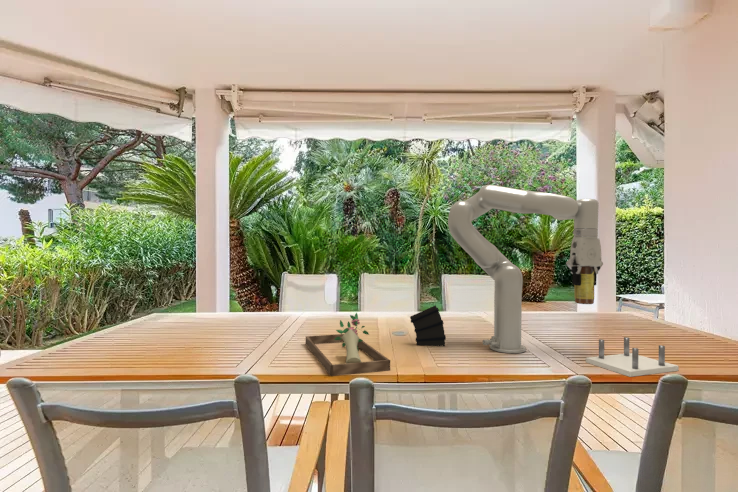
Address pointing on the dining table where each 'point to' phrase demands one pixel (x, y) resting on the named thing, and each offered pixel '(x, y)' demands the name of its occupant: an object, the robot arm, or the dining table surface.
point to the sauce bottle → (585, 286)
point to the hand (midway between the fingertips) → (584, 284)
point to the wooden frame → (348, 368)
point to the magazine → (429, 327)
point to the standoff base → (627, 365)
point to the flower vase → (351, 340)
